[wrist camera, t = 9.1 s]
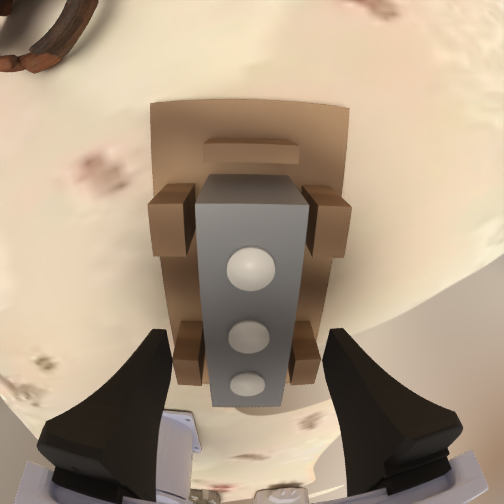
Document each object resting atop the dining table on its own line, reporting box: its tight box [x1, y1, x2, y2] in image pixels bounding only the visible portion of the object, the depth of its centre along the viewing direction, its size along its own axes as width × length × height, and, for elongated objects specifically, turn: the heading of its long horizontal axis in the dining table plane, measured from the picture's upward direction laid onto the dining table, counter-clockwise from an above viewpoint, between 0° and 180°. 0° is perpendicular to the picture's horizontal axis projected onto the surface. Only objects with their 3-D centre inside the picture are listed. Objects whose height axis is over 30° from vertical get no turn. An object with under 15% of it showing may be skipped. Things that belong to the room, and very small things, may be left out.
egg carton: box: [188, 489, 220, 504], centre depth 39 cm, size 11×8×4 cm
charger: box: [252, 487, 309, 504], centre depth 38 cm, size 5×9×15 cm
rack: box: [148, 99, 352, 386], centre depth 16 cm, size 20×10×4 cm, turn 178°
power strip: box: [195, 174, 309, 407], centre depth 15 cm, size 12×4×5 cm, turn 178°
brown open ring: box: [0, 0, 99, 73], centre depth 8 cm, size 12×9×8 cm
